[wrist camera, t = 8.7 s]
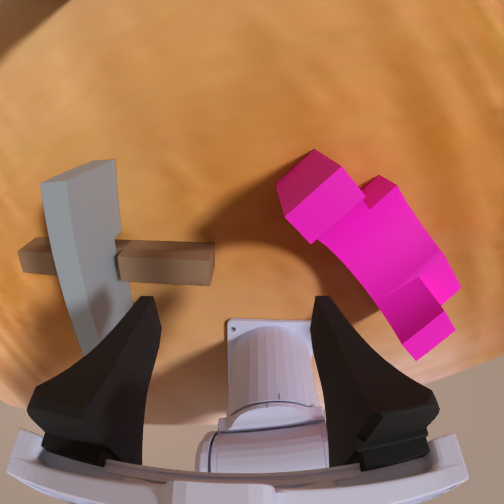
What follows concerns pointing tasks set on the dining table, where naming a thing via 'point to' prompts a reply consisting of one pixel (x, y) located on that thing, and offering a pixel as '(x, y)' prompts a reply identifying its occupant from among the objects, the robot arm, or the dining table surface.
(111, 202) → the slate plate
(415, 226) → the toy block
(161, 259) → the walnut rail
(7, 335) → the dining table surface
